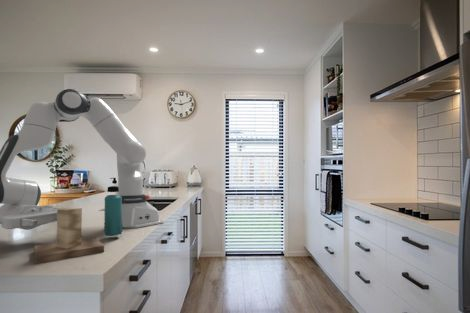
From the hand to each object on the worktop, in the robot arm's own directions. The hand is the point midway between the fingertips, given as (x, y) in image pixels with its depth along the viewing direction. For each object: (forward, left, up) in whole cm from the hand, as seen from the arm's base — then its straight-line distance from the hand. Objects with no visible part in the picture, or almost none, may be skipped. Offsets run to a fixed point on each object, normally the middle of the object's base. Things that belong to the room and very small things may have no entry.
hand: (49, 220), depth 97 cm
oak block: (-5, +10, -7) cm, 13 cm away
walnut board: (-5, +10, -9) cm, 14 cm away
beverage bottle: (-21, 0, -9) cm, 23 cm away
